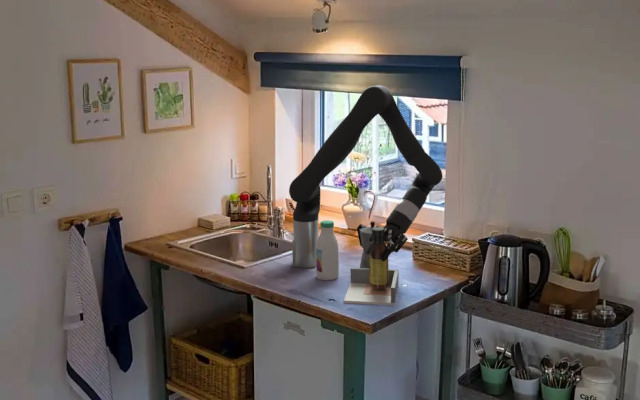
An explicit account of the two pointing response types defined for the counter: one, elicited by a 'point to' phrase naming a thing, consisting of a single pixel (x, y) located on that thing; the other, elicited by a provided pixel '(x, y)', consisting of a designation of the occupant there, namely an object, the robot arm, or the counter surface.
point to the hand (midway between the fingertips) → (375, 257)
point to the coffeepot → (365, 242)
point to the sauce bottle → (378, 260)
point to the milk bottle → (327, 252)
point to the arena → (371, 288)
